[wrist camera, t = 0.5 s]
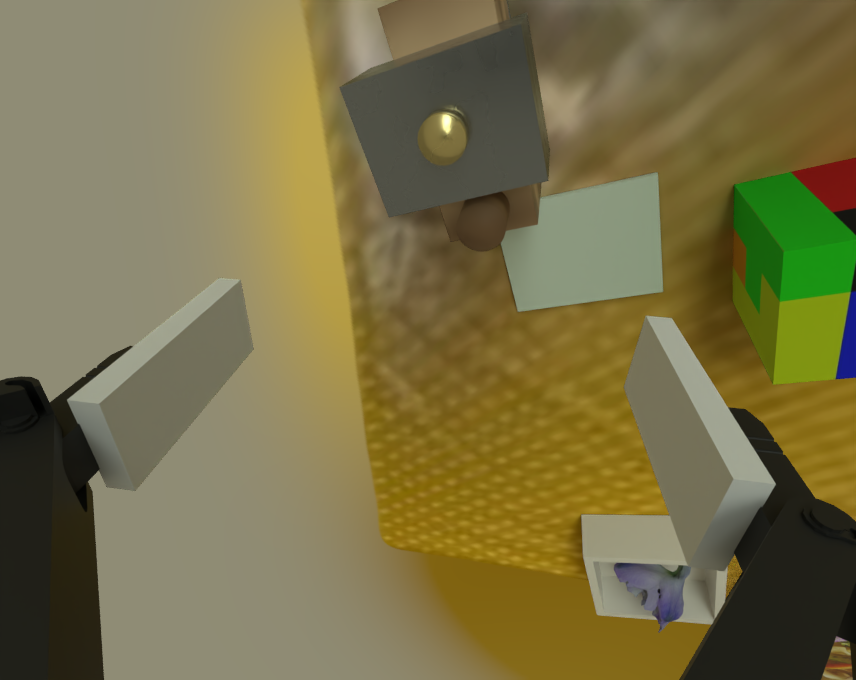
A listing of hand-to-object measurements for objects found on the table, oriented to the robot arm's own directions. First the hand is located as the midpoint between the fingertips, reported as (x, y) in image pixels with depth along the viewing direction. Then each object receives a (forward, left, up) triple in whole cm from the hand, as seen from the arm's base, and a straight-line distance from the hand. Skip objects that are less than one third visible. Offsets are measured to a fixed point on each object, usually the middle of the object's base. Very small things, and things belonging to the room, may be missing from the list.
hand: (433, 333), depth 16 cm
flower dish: (-7, +56, -25) cm, 61 cm away
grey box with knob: (+1, -3, -18) cm, 18 cm away
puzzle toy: (-20, +13, -25) cm, 34 cm away
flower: (-7, +56, -24) cm, 61 cm away
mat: (-4, +11, -25) cm, 27 cm away
